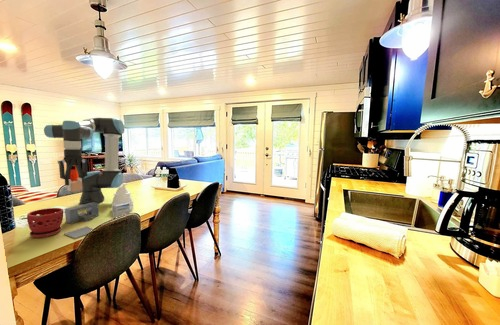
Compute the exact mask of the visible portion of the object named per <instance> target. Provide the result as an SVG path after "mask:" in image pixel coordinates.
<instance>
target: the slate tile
mask: <svg viewBox="0 0 500 325" xmlns="http://www.w3.org/2000/svg"><path fill="white" fill-rule="evenodd" d="M93 229H94V228H92V227H89V226H84V227H80V228H77V229H74V230H72V231H67V232H65V233H64V234H63V235H65V236H67V237H69V238H72V239H74V240H76V239H79V238H82V237H85V236H88V235H89V234H88V233H89V232H90V231H91V230H93ZM87 234H88V235H87Z"/></svg>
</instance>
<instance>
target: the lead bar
mask: <svg viewBox="0 0 500 325" xmlns="http://www.w3.org/2000/svg"><path fill="white" fill-rule="evenodd" d="M78 219H79V221H82V222H89V221H92V220H93V217H92V215H90V214H87V212H84V211H83V212H78Z"/></svg>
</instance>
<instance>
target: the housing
mask: <svg viewBox="0 0 500 325" xmlns="http://www.w3.org/2000/svg"><path fill="white" fill-rule="evenodd" d="M82 210H86V213H87V214H90V215H92V218H96V217H99V203H95V202H92V203H88V204H80V205H77V206H76V205H75V206H71V207H67V208H64V216H65V223H67V224H70V225H72V224H74V223H79V222H80V220H79V219H78V213H79V211H82Z"/></svg>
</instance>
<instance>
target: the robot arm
mask: <svg viewBox="0 0 500 325" xmlns="http://www.w3.org/2000/svg"><path fill="white" fill-rule="evenodd" d="M43 133H44V135H45V137H47V138H50V139H51V138H52V139H63V148H64V150H63V156H64V157H63V159H61V160H57V164H58V168H59V169H58V170H59V178H60V179H62V180H64V185H65V186H66V190H67V192H72V191H71V182H72V179H70V176H71V171H72V168H73V167H74V166H75V168H76V171H77V174H78V177H77V181H81V182H82V190H81V196H80V199H79V204H80V205H83V204H88V203H92V202H95V203H98V204H99V203H103V202H104V201H105V196H104V194H103V191H102V189H116V188H117V189H118V188H119V187H120V186H122V185H123V183H124V182H123V181H124V174H123V173H122V172H121V170H120V169H119V152H120V151H119V148H120V147H119V146H120V144H119V140H120V138H121V137H122V135H123V134H124V133H125V125H124V122H123V121H122V119H120V118H115V117H94V118H93V117H92V118H87V119H86V118H85V119H83V120H81V121H77V120H63V121H62V123H61V124H48V125H45V126H44V127H43ZM94 133H97V134H98V133H99V134H102V135H103V136H104V137H105V149H104V151H105V152H104V169H103V170H101V171H102V172H101V171H100V170H95V171H94V170H93V171H92V170H91V171H88V161H89V160H88V159H84V158H83V157H82V154H83V152H82V140H83V139H85V140H87V139H90V138H92V137H93V135H94ZM81 162H82V166H81ZM65 164H66V169H65Z"/></svg>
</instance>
